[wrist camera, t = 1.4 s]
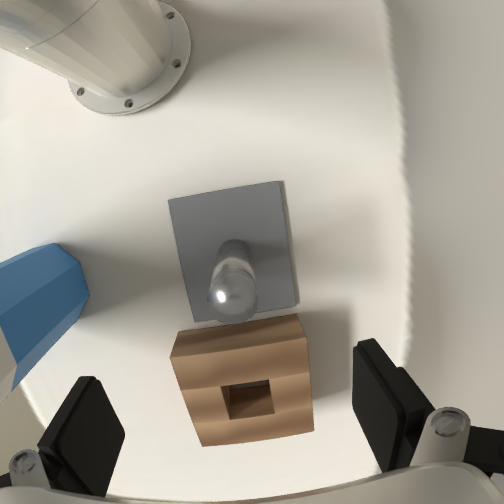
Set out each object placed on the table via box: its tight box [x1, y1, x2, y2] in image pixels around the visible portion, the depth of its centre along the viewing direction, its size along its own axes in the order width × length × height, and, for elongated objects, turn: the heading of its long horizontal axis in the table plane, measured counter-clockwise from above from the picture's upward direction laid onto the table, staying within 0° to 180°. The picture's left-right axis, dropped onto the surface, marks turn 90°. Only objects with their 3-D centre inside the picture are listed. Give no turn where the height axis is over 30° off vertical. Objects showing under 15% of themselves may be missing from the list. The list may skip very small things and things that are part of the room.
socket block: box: [170, 314, 314, 447], centre depth 31 cm, size 12×12×5 cm
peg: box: [207, 239, 258, 324], centre depth 24 cm, size 3×3×11 cm
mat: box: [168, 181, 296, 322], centre depth 30 cm, size 12×10×1 cm
